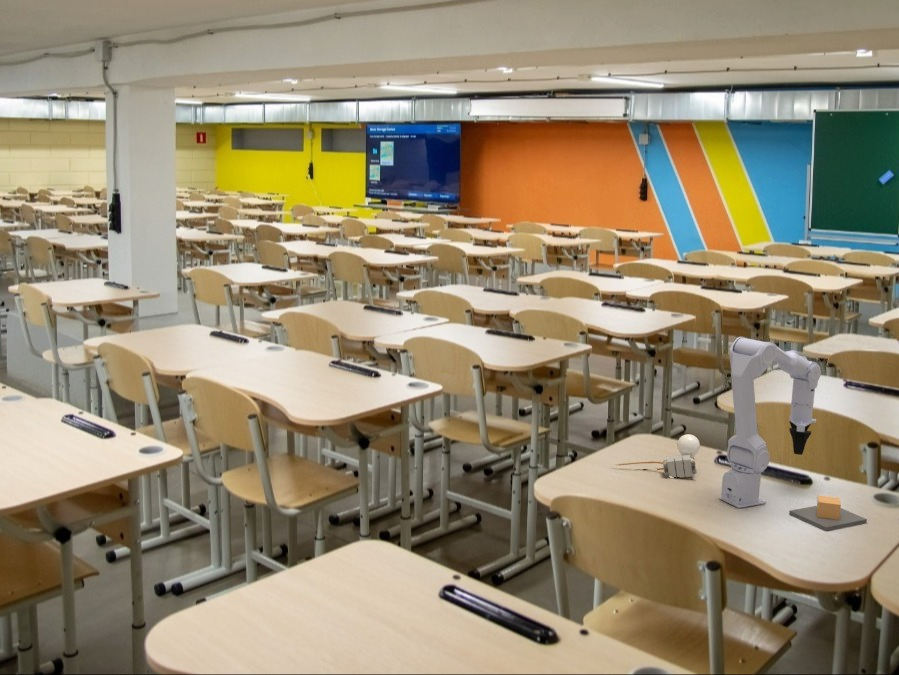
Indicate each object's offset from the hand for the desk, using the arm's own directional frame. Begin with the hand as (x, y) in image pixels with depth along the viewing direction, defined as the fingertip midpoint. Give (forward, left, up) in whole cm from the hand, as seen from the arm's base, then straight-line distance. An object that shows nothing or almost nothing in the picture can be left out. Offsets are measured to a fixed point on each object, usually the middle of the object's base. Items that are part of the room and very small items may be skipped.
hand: (797, 450), depth 259 cm
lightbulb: (-20, +22, -11) cm, 32 cm away
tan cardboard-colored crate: (-11, -22, -9) cm, 26 cm away
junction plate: (-11, -22, -10) cm, 27 cm away
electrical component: (-31, +24, -11) cm, 41 cm away
